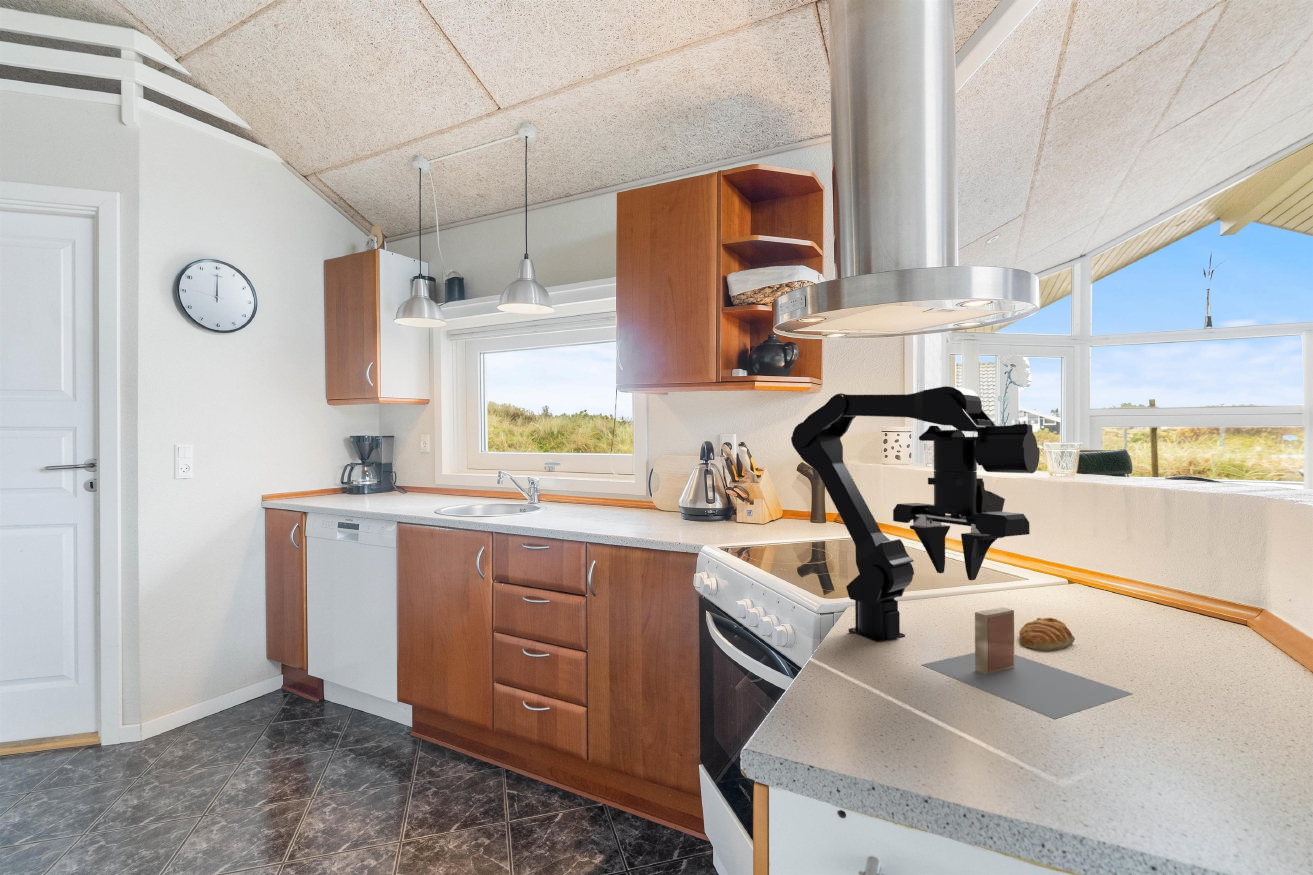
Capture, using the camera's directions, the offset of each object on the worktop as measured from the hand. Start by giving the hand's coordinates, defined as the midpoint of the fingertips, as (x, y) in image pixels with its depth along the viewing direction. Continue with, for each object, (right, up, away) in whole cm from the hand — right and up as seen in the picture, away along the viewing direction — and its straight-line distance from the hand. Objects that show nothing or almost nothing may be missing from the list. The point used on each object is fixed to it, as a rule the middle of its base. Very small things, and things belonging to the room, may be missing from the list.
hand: (955, 576), depth 85 cm
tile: (+3, -12, -6) cm, 13 cm away
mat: (+4, -12, -9) cm, 15 cm away
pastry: (+17, -13, +6) cm, 22 cm away
